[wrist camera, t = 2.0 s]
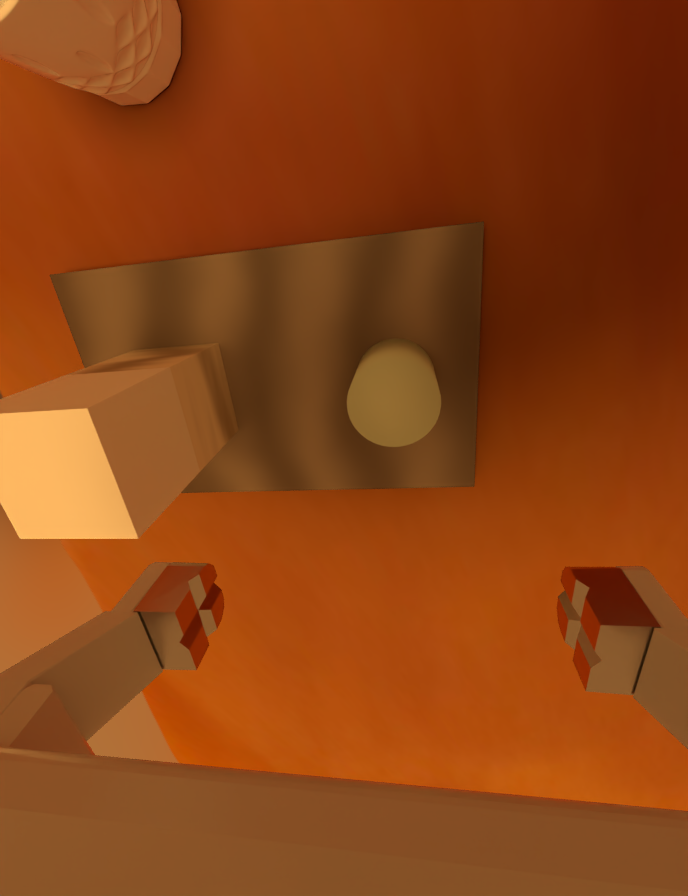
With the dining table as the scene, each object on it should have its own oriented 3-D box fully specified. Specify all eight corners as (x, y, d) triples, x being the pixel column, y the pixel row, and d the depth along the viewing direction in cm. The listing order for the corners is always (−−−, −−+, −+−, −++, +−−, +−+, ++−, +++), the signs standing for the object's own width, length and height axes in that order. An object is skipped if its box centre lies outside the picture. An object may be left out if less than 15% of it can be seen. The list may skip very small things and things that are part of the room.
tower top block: (170, 367, 20) (87, 408, 15) (200, 471, 23) (138, 538, 18) (65, 375, 21) (-47, 416, 16) (105, 474, 24) (20, 538, 19)
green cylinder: (434, 335, 24) (441, 354, 19) (434, 411, 26) (441, 445, 21) (353, 341, 25) (342, 362, 20) (360, 415, 27) (351, 448, 22)
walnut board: (479, 223, 22) (484, 221, 21) (471, 475, 29) (474, 486, 28) (67, 273, 27) (49, 274, 25) (143, 484, 33) (132, 493, 32)
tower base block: (218, 343, 26) (170, 367, 20) (238, 429, 28) (200, 471, 23) (133, 350, 27) (65, 375, 21) (159, 433, 29) (105, 474, 24)
